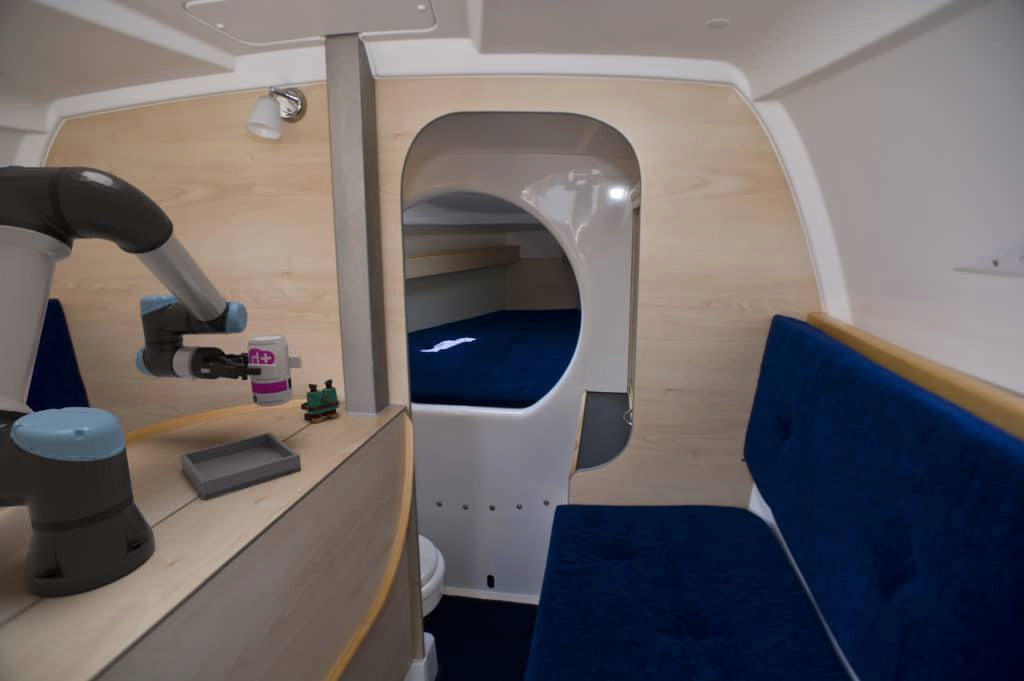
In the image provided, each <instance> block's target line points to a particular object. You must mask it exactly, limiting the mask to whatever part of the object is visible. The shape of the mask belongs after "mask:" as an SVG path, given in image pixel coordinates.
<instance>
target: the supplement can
mask: <svg viewBox="0 0 1024 681" xmlns="http://www.w3.org/2000/svg"><path fill="white" fill-rule="evenodd" d="M248 341H249V342H248V343H247V345H246V346H247V353H248V358H249V364H268V365H276V367H277V377H276V378H269V377H250V384H251V395H252V402H253V403H254V404H256V405H257V406H259V407H276V406H280V405H284V404H285V405H286V404H287V403H288V402H289V403H290V401H291V399H292V398H293V384H292V375H291V368H290V362H289V356H290V352H289V343H288V341H287V340H286V338H285V335H282V334H268V335H259V336H253V337H250V338H249V340H248Z"/></svg>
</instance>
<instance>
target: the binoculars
mask: <svg viewBox="0 0 1024 681" xmlns="http://www.w3.org/2000/svg"><path fill="white" fill-rule="evenodd" d="M333 382H334V381H333V379H332V378H331V379H327V380H325V381H324V385H325V388H322V390H319V389H317V387H318V385H317V384H314V383H308V388H309V390H310V391H307V392H306V402H302V403H301V404H300V409H301V410H302V411H305V413H304V414H303V416H304V417H303V418H304V419H311V422H312V423H314V424H318V423H323V416H327V418H329V419H337V418H338V417H339V412H338V411H337V409H338V408H339V407H340V402H339V399H338V393H337V389H336V386H333V385H332V384H333Z"/></svg>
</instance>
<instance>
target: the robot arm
mask: <svg viewBox="0 0 1024 681" xmlns="http://www.w3.org/2000/svg"><path fill="white" fill-rule="evenodd" d="M174 229H175V228H174V224H173V222H172V220H171V219H170V217H169V216H168V215H167V213H166V212H165V211H164V210H163V208H161V206H160V205H159V204H157V203H156V202H155V201H154V200H153V199H152V198H151V197H150V196H148V195H147V194H146V193H145V192H143V191H141V189H139V188H137V187H136V186H134V185H133V184H132V183H129V182H128V181H127V180H124V179H123V178H121V177H119V176H117V175H115V174H113V173H109V172H108V171H105V170H101V169H99V168H96V167H91V166H90V167H89V166H22V165H17V164H15V165H14V164H6V165H1V166H0V508H11V507H27V509H28V510H27V511H28V514H29V518H30V523H31V530H32V533H31V536H30V537H31V538H30V542H29V545H28V550H27V554H26V559H25V563H24V566H23V577H24V584H25V586H26V587H25V588H26V590H28V592H30V593H31V594H33V595H36V596H43V597H60V596H67V595H73V594H77V593H81V592H86V591H88V590H92V589H96V588H98V587H100V586H103V585H106V584H109V583H111V582H113V581H115V580H117V579H120V578H122V577H124V576H125V575H127V574H129V573H131V572H132V571H134V570H136V569H137V568H138V567H140V566H141V565H143V564H144V563H145V562H146V561H147V560H148V559H149V558H150V557H151V556H152V554H153V553H154V551H155V549H156V542H155V541H156V540H155V534H154V530H153V529H152V527H151V526H150V524H149V522H148V521H147V520H146V518H145V517H144V515H143V513H142V512H141V510H140V509H139V507H138V505H136V503H135V498H134V494H133V493H134V492H133V486H132V478H131V474H130V466H129V460H128V454H127V453H128V452H127V448H126V446H127V439H126V437H125V435H124V432H123V428H122V424H121V421H120V419H119V418H118V417H117V415H115V414H114V413H112V412H110V411H109V410H105V409H101V408H96V407H88V406H87V407H86V406H85V407H83V406H70V407H69V406H68V407H63V408H60V409H57V408H50V409H45V410H39V411H36V412H35V411H33V409H32V408H30V407H29V406H28V405H27V400H28V396H29V390H30V387H31V386H30V385H31V382H32V377H33V372H34V369H35V368H34V367H35V362H36V358H37V354H38V350H39V349H38V348H39V344H40V341H41V336H42V330H43V327H44V324H45V323H44V321H45V317H46V314H47V309H48V304H49V300H50V299H49V298H50V294H51V289H52V286H53V281H54V276H55V273H56V272H55V271H56V267H57V264H58V263H60V262H61V261H65V260H67V259H68V258H70V257H71V255H72V250H73V246H74V242H75V240H88V239H98V240H99V239H100V240H104V241H108V242H111V243H114V244H116V246H118V248H119V249H120V250H121V251H123V252H125V253H127V254H128V255H129V254H130V255H134V256H135V257H136V258H137V259H138V261H140V262H141V263H142V264H143V265H144V266H145V267H146V268H147V270H148V271H149V272H150V273H151V274H152V275H154V277H155V278H156V279H158V281H159V282H160V283H161V284H162V285H163V286H164V288H165V289H167V291H169V292H170V294H153V295H145V296H143V297H141V298H140V299H139V309H140V311H139V312H140V315H139V317H140V318H141V324H142V330H143V337H144V338H143V339H144V346H142V347H141V348H139V349H138V351H137V352H136V357H135V359H134V361H135V362H134V363H135V366H136V369H137V370H138V371H139V372H140V373H142V374H143V375H145V376H150V377H157V378H178V379H179V378H182V379H183V378H184V379H190V380H191V381H195V380H198V379H200V380H218V379H219V378H222V379H223V378H224V379H231V380H237V379H240V378H241V380H242V381H248V379H249V378H251V377H269V378H276V377H277V367H276V365H268V364H249V358H248V352H241V353H240V354H235V353H227V354H226V353H225V351H224V350H223V349H221V348H220V347H215V346H199V345H198V346H196V345H195V346H192V345H184V336H191V335H193V336H194V335H195V336H197V335H199V336H201V335H229V334H230V335H232V334H241V333H243V332H244V331H245V330H246V328H247V325H248V312H247V309H246V306H245V305H244V304H243V303H242V302H239V301H232V300H231V301H228V300H227V299H226V298H225V297H224V296H223V295H222V294H221V292H220V291H219V290H218V289H217V287H216V286H215V285H214V283H213V282H212V281H211V280H210V278H209V277H208V276H207V274H206V273H205V272H204V271H203V270H202V268H201V267H200V266H199V264H198V263H197V261H196V260H195V259H194V257H192V255H191V254H190V253H189V251H188V250H187V249H186V248H185V246H184V245H183V243H182V242H181V241H180V240H179V238H178V237H177V236H176V234H175V233H174ZM289 362H290V369H301V368H303V364H302V357H301V355H300V356H299V355H289Z"/></svg>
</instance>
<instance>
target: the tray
mask: <svg viewBox="0 0 1024 681" xmlns="http://www.w3.org/2000/svg"><path fill="white" fill-rule="evenodd" d="M179 457H180V464H181V470H182V472H183V473H184V475H185V476H186V477H187V479H188V480H189V482H190V483H191V484H192V485H193V486H194V488H195V489H196V490H197V492H198V493H199V495H200V496H201V497H202V499H203V498H204V499H203V500H204V501H206V500H210V499H213V498H212V497H214V498H216V496H217V497H220V496H223V495H225V493H227V494H229V493H228V492H230V493H232V492H231V491H233V492H236V491H239V490H242V489H241V488H243V489H246V488H249V487H252V486H255V484H256V485H258V484H262V483H265V482H269V481H272V480H275V479H278V478H281V477H283V476H284V475H285V476H288V475H291V474H294V473H297V471H298V472H300V471H299V470H301V471H302V465H301V455H300V454H299V453H298V452H297V451H295V450H294V449H293V448H291V447H290V446H289V445H287V444H286V443H285V442H283V441H281V439H279V438H277V437H276V436H275V435H273V434H272V433H271V432H266V433H262V434H257V435H253V436H250V437H245V438H242V439H237V440H233V441H229V442H225V443H222V444H221V443H220V444H218V445H214V446H211V447H206V448H201V449H199V450H198V449H197V450H194V451H190V452H186V453H182V454H179ZM293 472H294V473H293ZM287 474H288V475H287ZM251 485H252V486H251ZM248 486H249V487H248ZM245 487H246V488H245ZM238 489H239V490H238ZM235 490H236V491H235ZM222 494H223V495H222ZM219 495H220V496H219Z"/></svg>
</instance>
